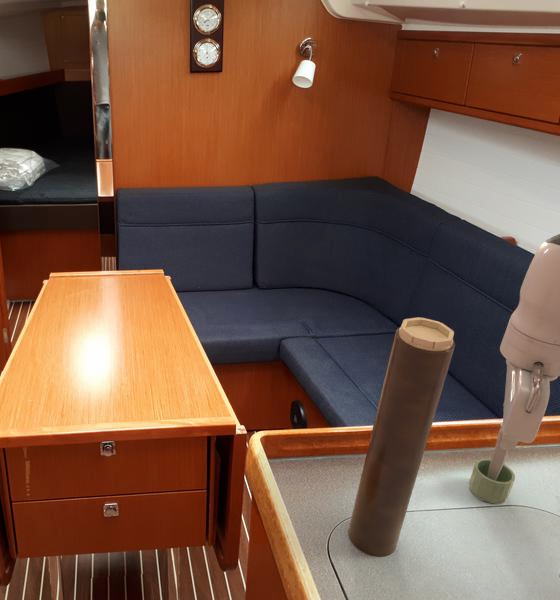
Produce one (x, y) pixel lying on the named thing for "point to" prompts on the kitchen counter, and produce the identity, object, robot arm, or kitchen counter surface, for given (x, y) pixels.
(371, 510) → the pedestal
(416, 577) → the kitchen counter surface
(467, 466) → the kitchen counter surface
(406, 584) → the kitchen counter surface
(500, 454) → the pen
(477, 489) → the olive short hollow cylinder
